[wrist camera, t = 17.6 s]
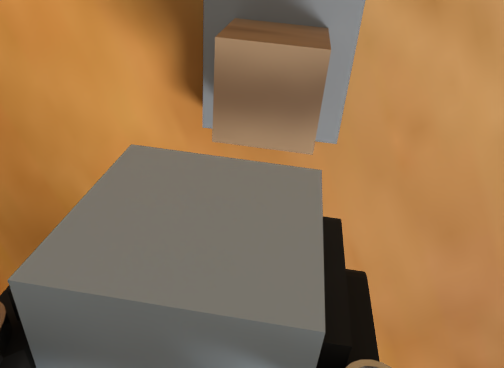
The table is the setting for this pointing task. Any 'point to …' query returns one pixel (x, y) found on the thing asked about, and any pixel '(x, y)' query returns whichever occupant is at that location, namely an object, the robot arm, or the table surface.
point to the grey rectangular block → (299, 13)
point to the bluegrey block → (181, 268)
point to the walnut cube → (269, 84)
